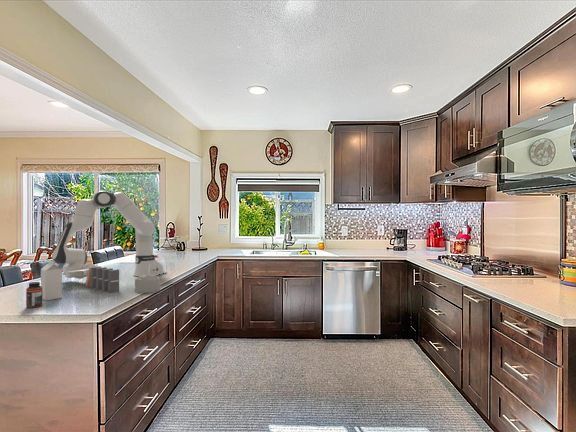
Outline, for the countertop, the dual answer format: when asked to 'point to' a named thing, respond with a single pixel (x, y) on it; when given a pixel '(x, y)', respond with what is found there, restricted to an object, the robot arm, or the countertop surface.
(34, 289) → the supplement bottle
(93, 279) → the domino
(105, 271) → the domino
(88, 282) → the terracotta domino
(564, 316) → the countertop surface
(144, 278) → the light gray block
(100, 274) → the domino
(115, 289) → the domino
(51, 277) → the milk carton
